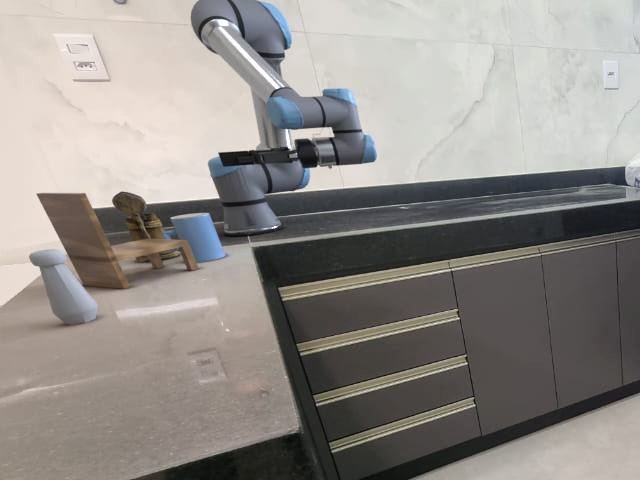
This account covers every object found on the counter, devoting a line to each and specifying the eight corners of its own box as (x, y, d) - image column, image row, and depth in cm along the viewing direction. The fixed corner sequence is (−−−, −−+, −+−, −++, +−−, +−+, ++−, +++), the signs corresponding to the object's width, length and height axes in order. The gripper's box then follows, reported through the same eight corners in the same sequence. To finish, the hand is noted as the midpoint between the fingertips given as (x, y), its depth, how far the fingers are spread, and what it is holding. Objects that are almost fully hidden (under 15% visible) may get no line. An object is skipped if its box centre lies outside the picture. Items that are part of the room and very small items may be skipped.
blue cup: (224, 252, 144) (208, 211, 139) (226, 258, 138) (209, 215, 133) (175, 260, 138) (157, 217, 133) (175, 266, 132) (156, 221, 127)
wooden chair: (160, 266, 133) (123, 183, 124) (199, 268, 129) (163, 183, 120) (83, 285, 119) (35, 193, 110) (124, 288, 115) (78, 193, 106)
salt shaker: (103, 312, 100) (68, 244, 95) (104, 319, 97) (67, 249, 91) (60, 321, 97) (21, 251, 91) (59, 329, 93) (19, 256, 87)
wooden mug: (131, 267, 132) (96, 193, 125) (139, 257, 143) (107, 188, 135) (176, 261, 137) (145, 189, 129) (180, 251, 147) (152, 184, 139)
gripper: (326, 170, 138) (227, 178, 126) (311, 164, 156) (224, 171, 145) (317, 139, 134) (215, 145, 123) (304, 137, 153) (214, 142, 141)
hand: (220, 159), depth 134 cm, fingers open, 13 cm apart
